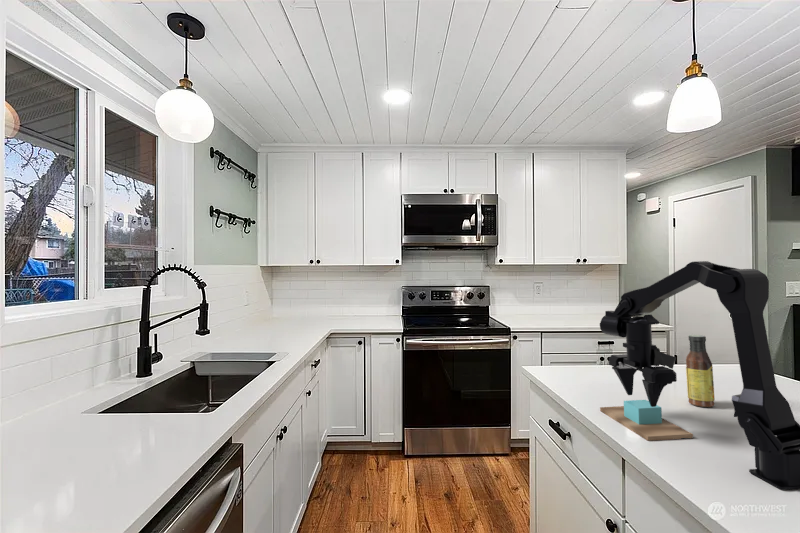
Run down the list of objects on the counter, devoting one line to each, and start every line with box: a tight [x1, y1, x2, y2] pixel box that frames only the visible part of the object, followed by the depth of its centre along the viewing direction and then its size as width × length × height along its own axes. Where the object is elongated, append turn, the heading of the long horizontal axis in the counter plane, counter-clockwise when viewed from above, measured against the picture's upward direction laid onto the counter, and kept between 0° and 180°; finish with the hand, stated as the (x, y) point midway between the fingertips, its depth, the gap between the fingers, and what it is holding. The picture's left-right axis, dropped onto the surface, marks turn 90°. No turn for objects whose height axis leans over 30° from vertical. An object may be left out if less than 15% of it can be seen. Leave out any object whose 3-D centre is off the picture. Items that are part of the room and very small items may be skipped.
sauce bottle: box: [685, 334, 715, 408], centre depth 116 cm, size 6×6×20 cm
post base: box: [599, 405, 694, 442], centre depth 103 cm, size 20×11×4 cm, turn 3°
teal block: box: [623, 399, 663, 425], centre depth 103 cm, size 6×6×4 cm
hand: (641, 400), depth 103 cm, fingers open, 9 cm apart
